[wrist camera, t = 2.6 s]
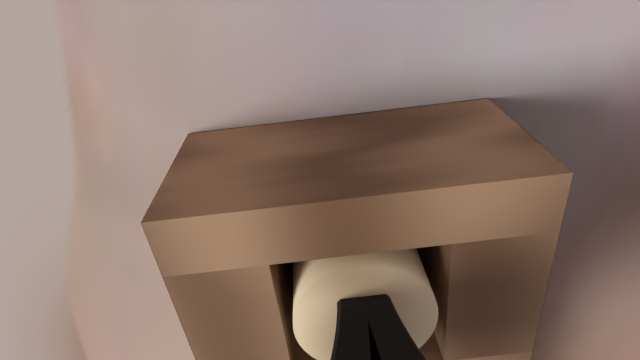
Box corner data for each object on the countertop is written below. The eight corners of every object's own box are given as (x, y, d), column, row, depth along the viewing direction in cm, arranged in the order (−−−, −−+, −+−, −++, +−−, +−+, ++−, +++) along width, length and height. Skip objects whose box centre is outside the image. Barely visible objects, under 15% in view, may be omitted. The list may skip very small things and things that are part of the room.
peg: (400, 167, 15) (441, 259, 11) (401, 255, 17) (436, 361, 13) (286, 180, 15) (282, 277, 11) (301, 266, 17) (302, 375, 13)
